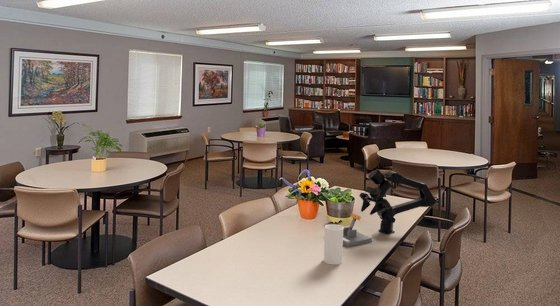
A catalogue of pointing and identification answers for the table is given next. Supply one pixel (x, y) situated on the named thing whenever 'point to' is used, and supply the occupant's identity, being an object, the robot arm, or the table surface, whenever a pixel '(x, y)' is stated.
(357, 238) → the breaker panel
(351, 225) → the lever
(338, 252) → the cup
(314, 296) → the table surface
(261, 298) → the table surface
